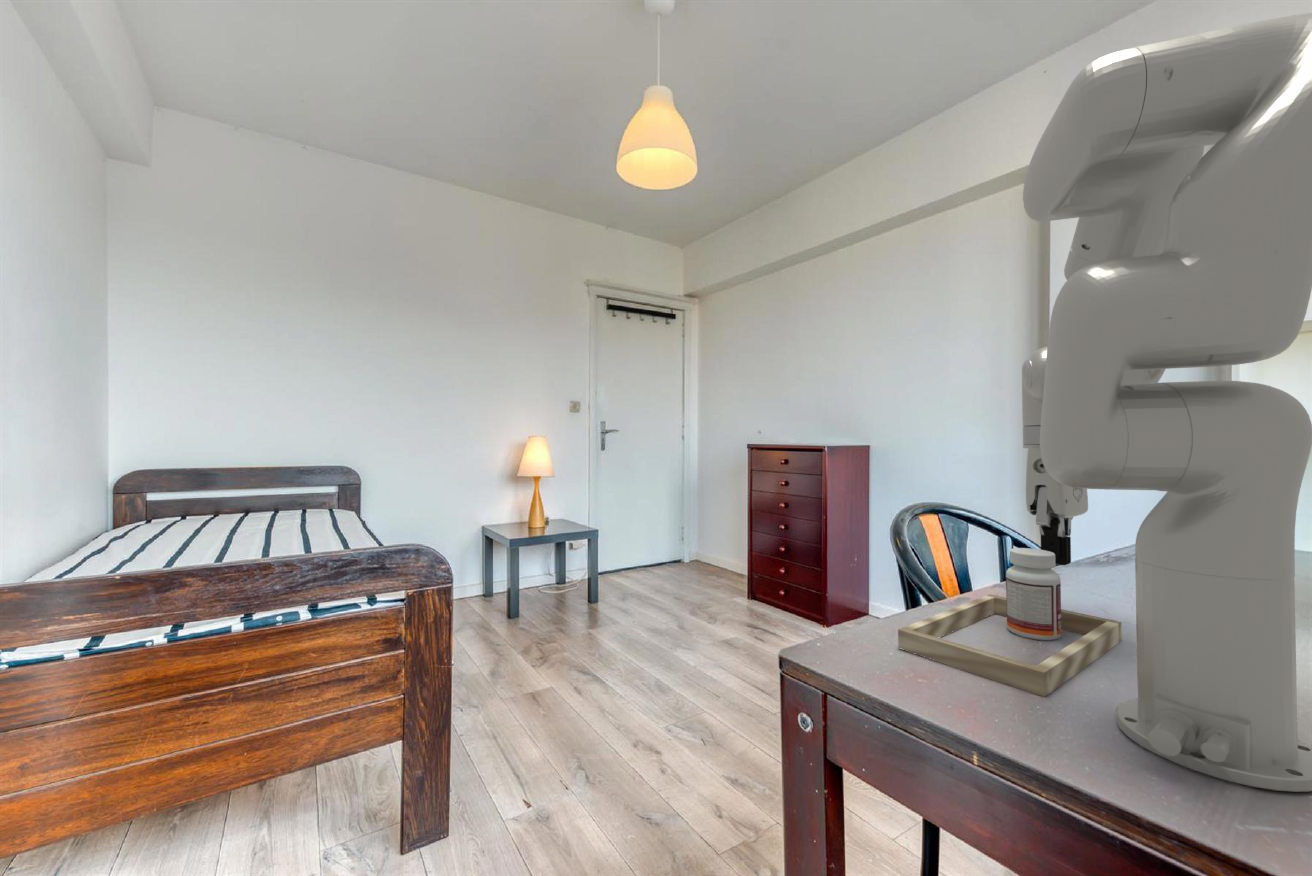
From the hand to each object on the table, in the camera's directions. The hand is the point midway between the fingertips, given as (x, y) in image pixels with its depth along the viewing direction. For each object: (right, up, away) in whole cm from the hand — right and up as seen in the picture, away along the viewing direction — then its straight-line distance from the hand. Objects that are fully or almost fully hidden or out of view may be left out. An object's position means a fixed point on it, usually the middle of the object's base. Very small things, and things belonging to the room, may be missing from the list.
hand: (1055, 562), depth 78 cm
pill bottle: (-7, -9, -5) cm, 12 cm away
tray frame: (-13, -9, -9) cm, 18 cm away
